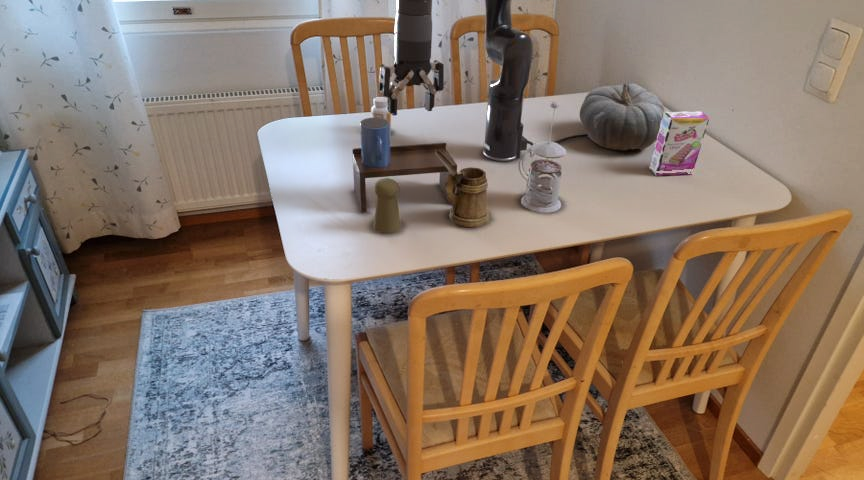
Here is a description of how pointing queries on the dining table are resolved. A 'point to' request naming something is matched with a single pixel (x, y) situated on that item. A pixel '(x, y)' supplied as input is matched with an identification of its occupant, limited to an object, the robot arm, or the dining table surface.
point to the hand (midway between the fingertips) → (411, 112)
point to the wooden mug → (466, 194)
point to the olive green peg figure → (386, 207)
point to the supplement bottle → (380, 109)
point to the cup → (375, 142)
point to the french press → (543, 195)
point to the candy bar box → (678, 141)
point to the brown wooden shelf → (402, 166)
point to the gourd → (622, 116)
